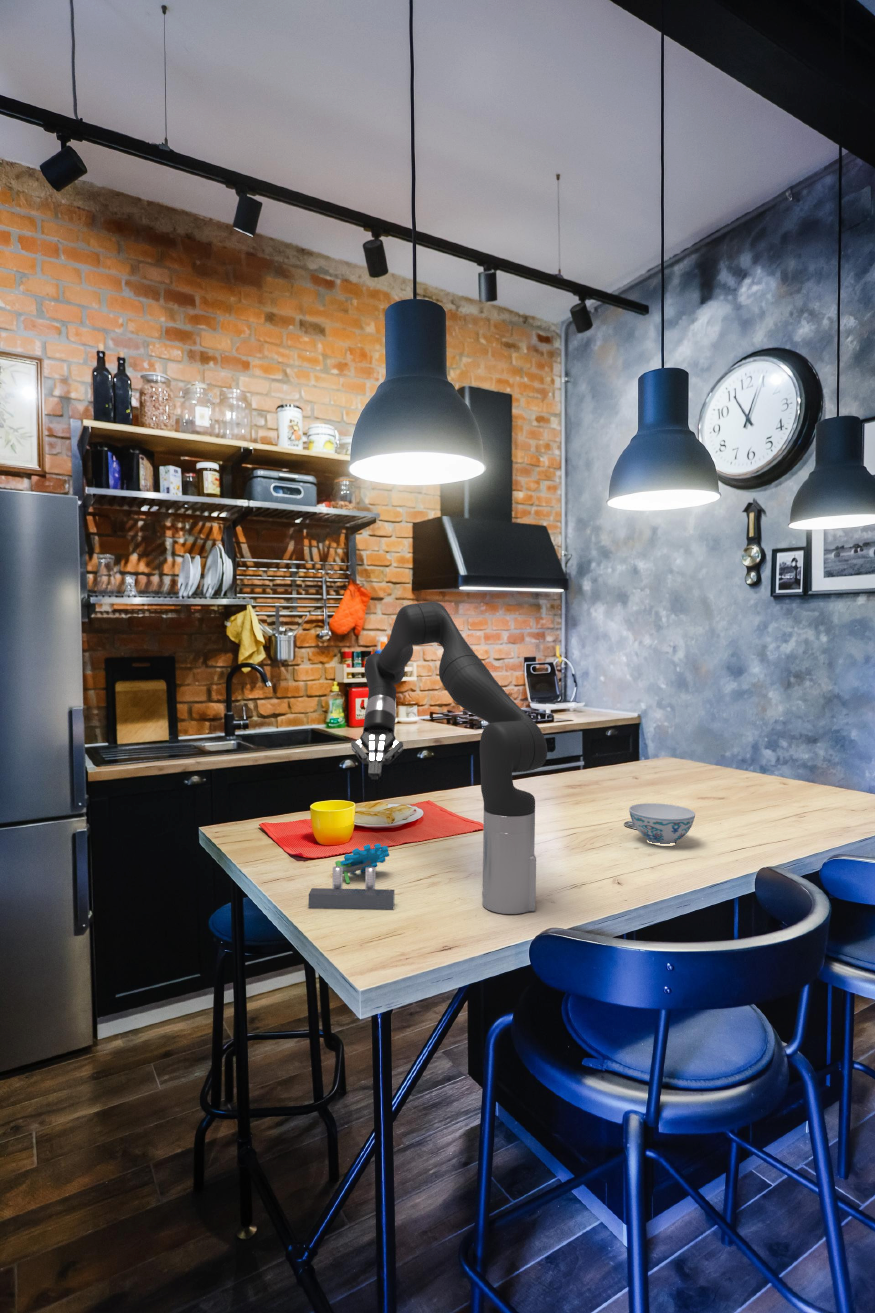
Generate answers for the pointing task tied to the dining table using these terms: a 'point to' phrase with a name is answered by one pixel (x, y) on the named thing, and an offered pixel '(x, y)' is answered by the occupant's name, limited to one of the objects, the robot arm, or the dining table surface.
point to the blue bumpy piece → (363, 859)
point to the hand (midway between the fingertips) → (374, 777)
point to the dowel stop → (352, 894)
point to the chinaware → (661, 821)
